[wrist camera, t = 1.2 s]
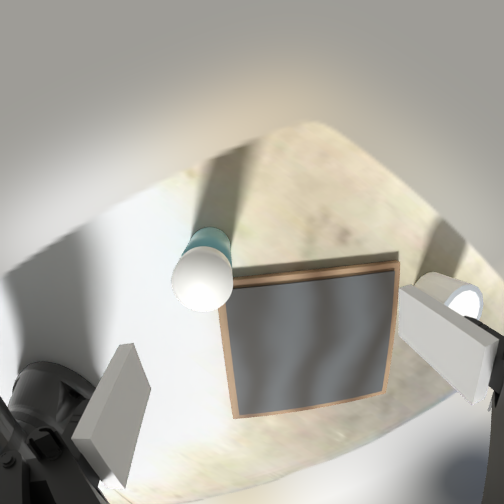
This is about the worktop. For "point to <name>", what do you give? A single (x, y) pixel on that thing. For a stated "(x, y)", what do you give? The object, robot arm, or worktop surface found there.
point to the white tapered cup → (453, 293)
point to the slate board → (309, 337)
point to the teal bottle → (204, 271)
